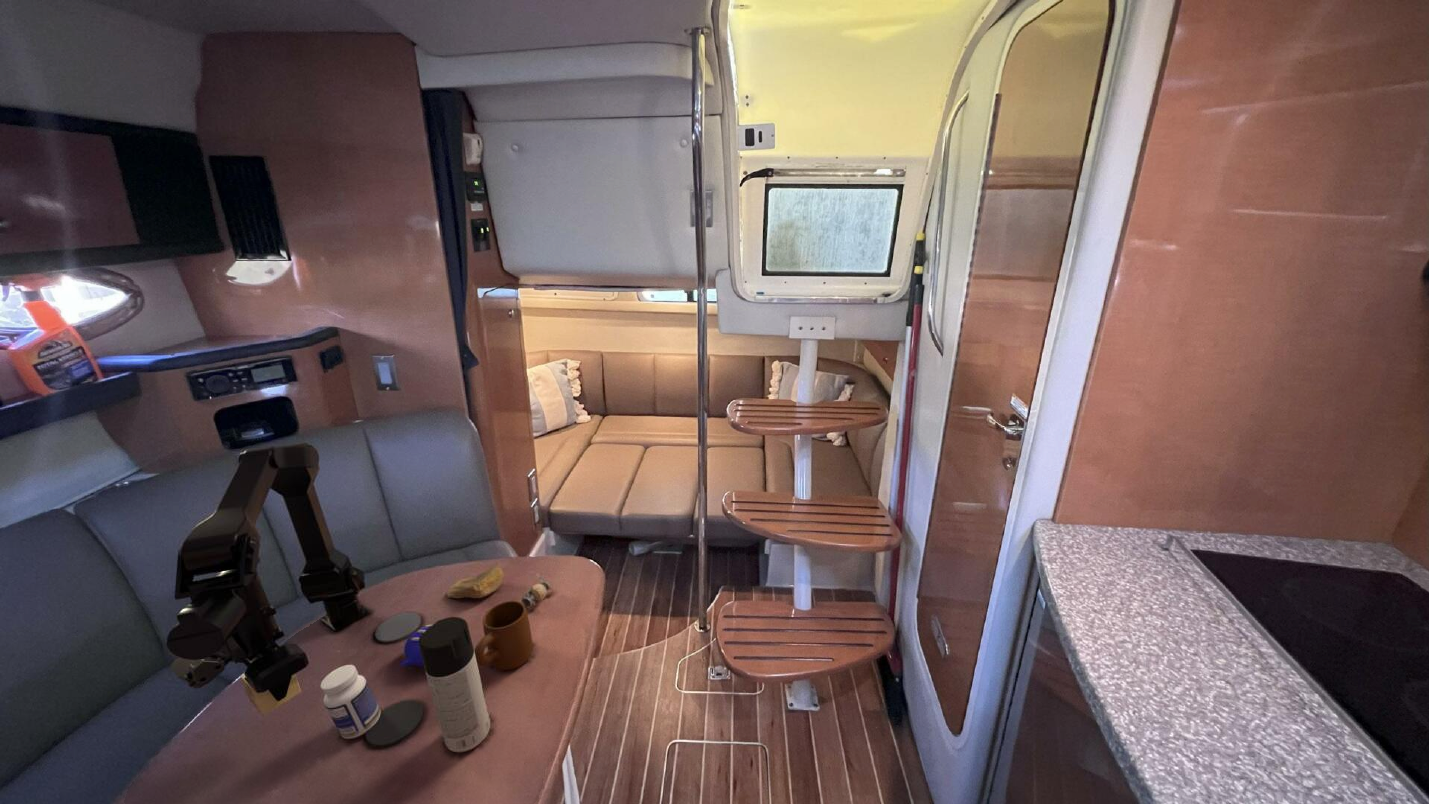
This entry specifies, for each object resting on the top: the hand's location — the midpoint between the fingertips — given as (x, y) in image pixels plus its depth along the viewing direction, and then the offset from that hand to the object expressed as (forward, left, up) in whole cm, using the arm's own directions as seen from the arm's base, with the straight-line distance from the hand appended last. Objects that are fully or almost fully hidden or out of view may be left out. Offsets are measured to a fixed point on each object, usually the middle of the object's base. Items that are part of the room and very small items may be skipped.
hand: (274, 691), depth 82 cm
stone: (0, +38, -6) cm, 38 cm away
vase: (+11, +44, -4) cm, 45 cm away
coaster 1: (-9, +22, -9) cm, 25 cm away
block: (0, 0, -1) cm, 1 cm away
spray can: (+25, +15, -9) cm, 30 cm away
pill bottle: (+9, +7, -8) cm, 14 cm away
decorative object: (+5, +21, -9) cm, 23 cm away
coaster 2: (+13, +10, -9) cm, 18 cm away
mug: (+18, +27, -9) cm, 33 cm away
